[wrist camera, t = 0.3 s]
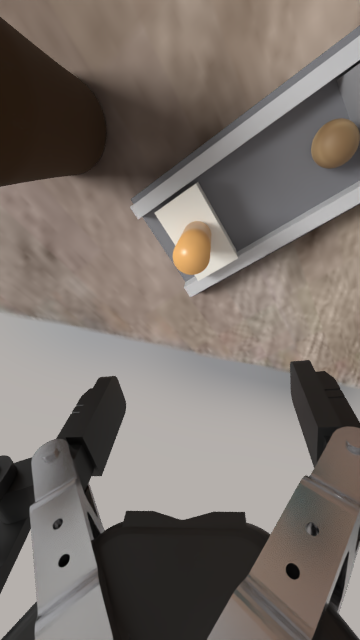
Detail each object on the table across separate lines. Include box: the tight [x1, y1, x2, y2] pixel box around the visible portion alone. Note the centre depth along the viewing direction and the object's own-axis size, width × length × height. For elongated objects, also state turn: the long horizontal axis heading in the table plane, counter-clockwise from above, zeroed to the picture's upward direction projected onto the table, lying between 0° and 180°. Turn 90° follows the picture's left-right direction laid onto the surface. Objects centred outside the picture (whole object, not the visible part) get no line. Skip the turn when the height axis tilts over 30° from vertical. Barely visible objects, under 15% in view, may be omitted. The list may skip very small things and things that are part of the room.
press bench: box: [130, 26, 360, 297], centre depth 29 cm, size 26×14×8 cm, turn 123°
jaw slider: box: [155, 182, 238, 281], centre depth 28 cm, size 5×9×12 cm, turn 33°
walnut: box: [311, 118, 360, 169], centre depth 27 cm, size 4×4×4 cm
